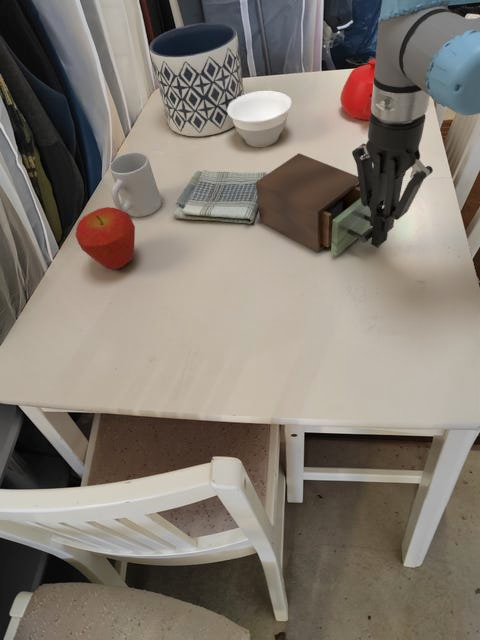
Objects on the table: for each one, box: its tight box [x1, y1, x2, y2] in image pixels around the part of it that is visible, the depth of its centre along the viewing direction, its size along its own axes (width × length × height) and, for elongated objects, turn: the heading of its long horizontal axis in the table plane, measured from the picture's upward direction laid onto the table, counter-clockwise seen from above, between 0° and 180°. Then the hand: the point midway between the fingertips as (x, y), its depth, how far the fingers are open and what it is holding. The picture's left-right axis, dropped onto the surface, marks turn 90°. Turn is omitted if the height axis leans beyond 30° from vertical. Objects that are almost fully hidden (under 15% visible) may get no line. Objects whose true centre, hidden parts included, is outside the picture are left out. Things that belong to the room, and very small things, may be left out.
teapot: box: [340, 58, 376, 121], centre depth 112 cm, size 25×16×12 cm, turn 167°
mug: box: [109, 152, 163, 218], centre depth 97 cm, size 12×8×11 cm
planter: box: [148, 22, 245, 137], centre depth 118 cm, size 22×22×20 cm
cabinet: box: [256, 153, 360, 253], centre depth 87 cm, size 16×13×10 cm
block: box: [324, 200, 343, 229], centre depth 85 cm, size 4×4×4 cm
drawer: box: [320, 186, 373, 257], centre depth 84 cm, size 19×11×8 cm, turn 44°
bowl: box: [227, 90, 293, 148], centre depth 112 cm, size 16×16×9 cm
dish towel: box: [173, 169, 268, 225], centre depth 99 cm, size 19×18×3 cm
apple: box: [75, 206, 136, 270], centre depth 86 cm, size 11×11×12 cm
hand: (378, 241), depth 80 cm, fingers closed
